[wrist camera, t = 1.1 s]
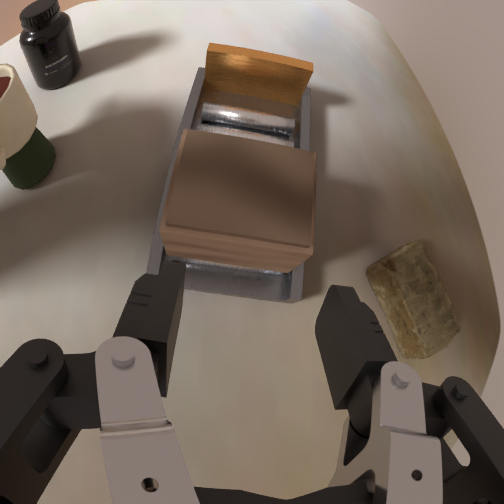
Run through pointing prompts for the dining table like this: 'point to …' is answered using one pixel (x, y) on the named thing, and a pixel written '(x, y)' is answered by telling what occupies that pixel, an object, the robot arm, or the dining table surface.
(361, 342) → the robot arm
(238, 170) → the brown wooden block
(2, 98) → the character mug
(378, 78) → the dining table surface
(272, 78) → the roller track
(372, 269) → the stone block
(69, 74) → the supplement bottle
